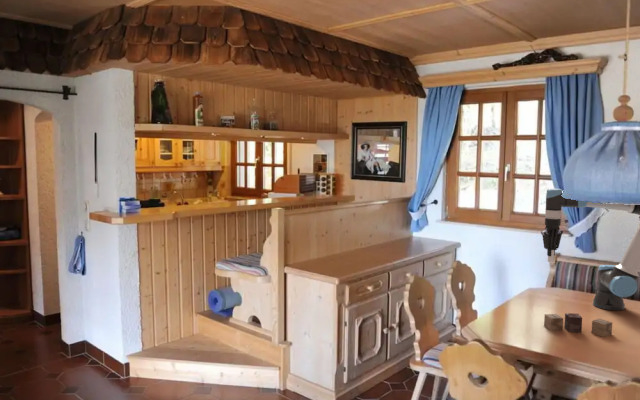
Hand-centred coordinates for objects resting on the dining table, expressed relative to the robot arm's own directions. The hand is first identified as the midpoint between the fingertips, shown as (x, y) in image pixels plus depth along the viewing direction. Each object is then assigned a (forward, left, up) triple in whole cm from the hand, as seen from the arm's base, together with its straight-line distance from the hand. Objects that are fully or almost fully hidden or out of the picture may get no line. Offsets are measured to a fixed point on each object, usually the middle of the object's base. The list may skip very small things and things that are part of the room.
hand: (550, 261), depth 262 cm
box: (+11, +27, -27) cm, 40 cm away
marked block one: (+2, +35, -27) cm, 44 cm away
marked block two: (+18, +22, -27) cm, 39 cm away
